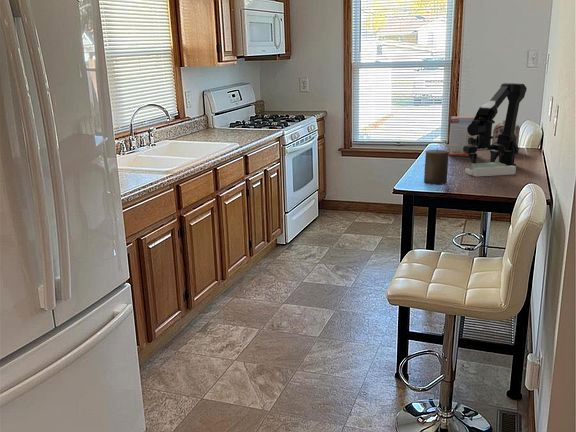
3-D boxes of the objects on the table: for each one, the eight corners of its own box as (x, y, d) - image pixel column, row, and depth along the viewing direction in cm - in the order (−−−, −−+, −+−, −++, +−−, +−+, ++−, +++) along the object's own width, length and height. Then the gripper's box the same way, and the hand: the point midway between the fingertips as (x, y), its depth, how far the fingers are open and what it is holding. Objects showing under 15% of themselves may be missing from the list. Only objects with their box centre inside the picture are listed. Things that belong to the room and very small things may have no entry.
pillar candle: (447, 185, 242) (450, 150, 238) (424, 184, 244) (426, 149, 240) (445, 180, 251) (448, 146, 247) (423, 179, 253) (425, 146, 249)
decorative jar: (490, 153, 314) (493, 120, 309) (496, 150, 323) (499, 118, 318) (512, 155, 308) (516, 122, 303) (518, 152, 317) (521, 120, 312)
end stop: (505, 170, 271) (505, 163, 270) (516, 174, 262) (516, 166, 261) (464, 172, 266) (465, 165, 265) (474, 176, 258) (475, 169, 257)
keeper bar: (497, 171, 270) (498, 162, 269) (505, 173, 264) (506, 164, 263) (471, 172, 267) (471, 163, 266) (477, 175, 261) (478, 165, 260)
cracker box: (475, 154, 311) (478, 116, 305) (475, 156, 305) (478, 117, 299) (448, 153, 315) (451, 115, 309) (448, 155, 310) (450, 116, 304)
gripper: (493, 130, 276) (490, 162, 280) (458, 132, 272) (455, 164, 276) (506, 133, 265) (503, 166, 270) (470, 135, 261) (467, 168, 266)
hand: (482, 166), depth 271 cm, fingers open, 9 cm apart
